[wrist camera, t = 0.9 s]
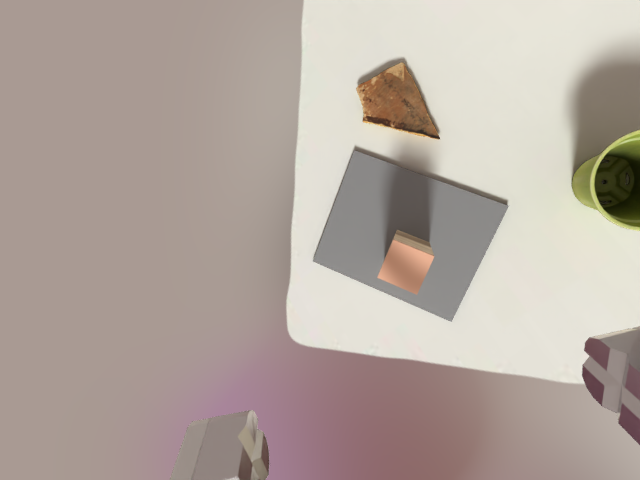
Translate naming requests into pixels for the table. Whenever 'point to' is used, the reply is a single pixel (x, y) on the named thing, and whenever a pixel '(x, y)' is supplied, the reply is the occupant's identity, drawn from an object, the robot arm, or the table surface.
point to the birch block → (407, 262)
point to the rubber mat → (408, 230)
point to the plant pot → (613, 182)
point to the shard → (395, 102)
